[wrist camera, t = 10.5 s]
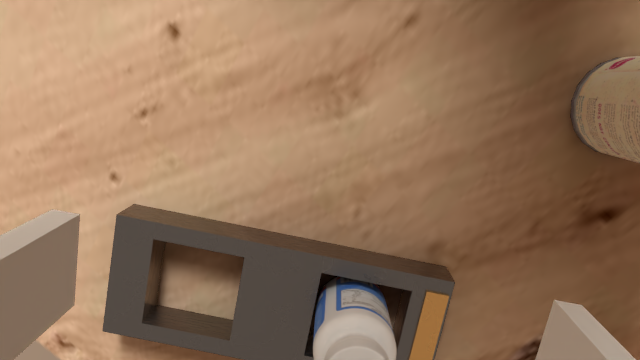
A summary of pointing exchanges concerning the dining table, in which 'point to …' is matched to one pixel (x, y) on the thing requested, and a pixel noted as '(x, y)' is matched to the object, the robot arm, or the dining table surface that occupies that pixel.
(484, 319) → the dining table surface
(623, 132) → the aerosol can
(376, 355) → the pill bottle
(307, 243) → the grey bottle holder tray
